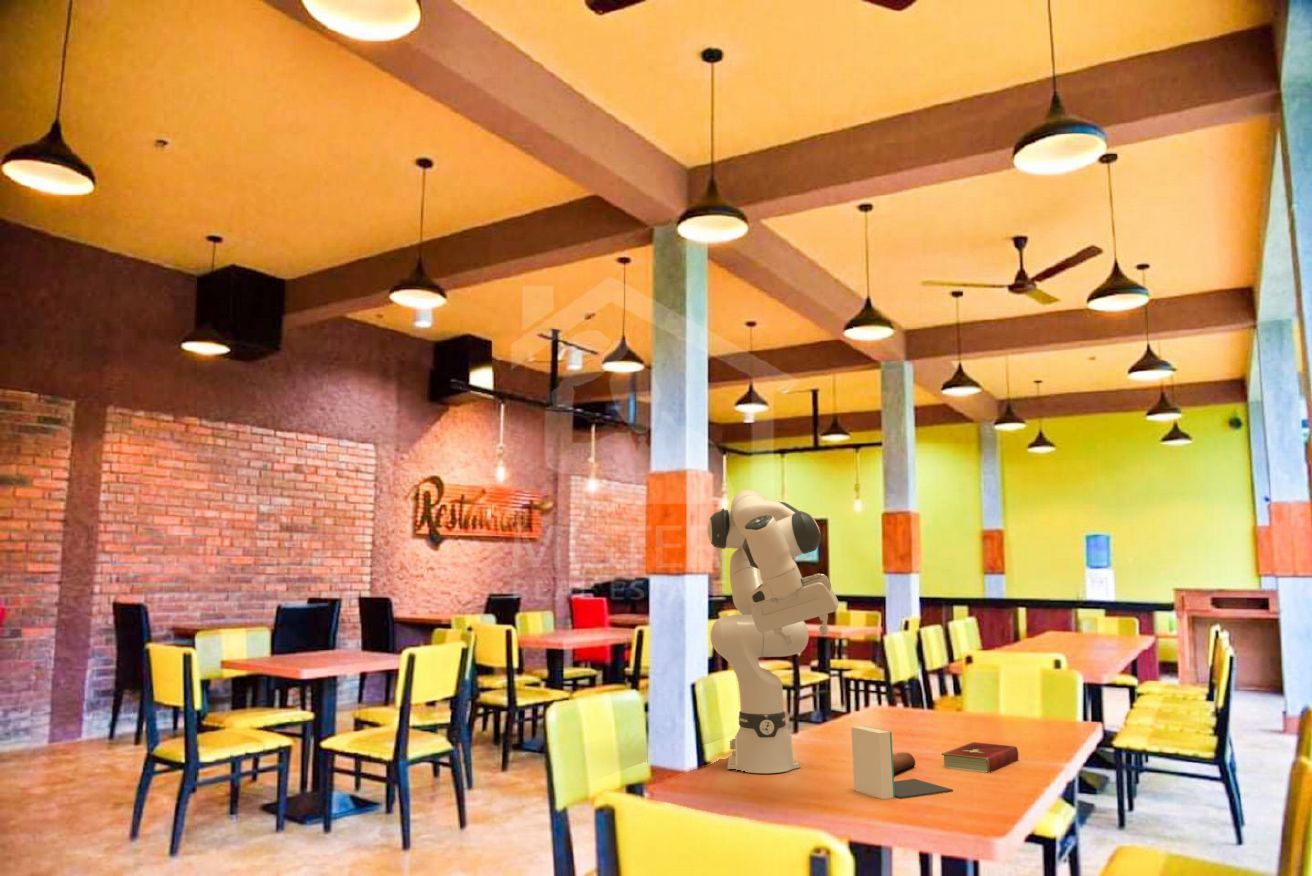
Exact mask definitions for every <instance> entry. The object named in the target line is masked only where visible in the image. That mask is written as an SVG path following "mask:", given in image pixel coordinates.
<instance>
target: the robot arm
mask: <svg viewBox="0 0 1312 876" xmlns="http://www.w3.org/2000/svg"><path fill="white" fill-rule="evenodd" d="M706 532H707V536H708V539H709V542H710V544H711V545H712V546H713V547H714V548H716V549H722V550H725V549H735V551H733V553H732V555H731V557H730V560H729V582H730V588H731V594H732V602H733V604H734V607H735V609H736V610H737V611H738V612H739V613H740V614H732V615H728V616H723V617H719V618H717V619H716V620H715V622H713V625H712V626H711V631H710V642H711V645H712V647H713V650H715V651H716V653H717V654H718V655H720V656H721V657H722V658H723V659H725V660H726V661H727V662H728V664H729V665H730V667H732V669H733V671H734V673H735V675H736V679H737V681H738V683H737V684H738V689H739V699H740V701H739V703H740V711H738V712H739V713H738V725H739V728H738V731H737V733H736V735H734V738H731V740H730V741H729V749H730V750H732V755H731V754H730V755H729V756H728V761H727V767H726V768H727V770H728V769H736V770H735V771H737V770H741V771H740V772H743V771H745V772H744V773H749V774H750V773H751V774H776V773H777V774H778V773H784V772H789V771H791V770H794V769H798V768H801V763H800V762H797V761H796V760H794V759H795V758H794V749H793V748H794V747H793V737H792V734H791V733H790V731H788V730H787V729H786V725H787V724H786V723H787V722H786V720H787V717H786V712H785V710H784V698H783V697H784V691H783V690H784V689H783V683H782V681H781V678H779V676H778V675H776V674H775V673H772V671H769V670H767V669H765V668H763V667H762V666H761V665H760V663H759V658H771V657H773V658H774V657H775V658H776V657H778V658H779V657H780V658H781V657H789V656H793V655H797V654H801V653H803V652H804V650H805V649H806V647H807V646H808V643H809V638H810V633H809V629H808V626H807V624H806V622H805V621H809V620H811V619H814V618H818V617H819V620H820V621H822V625H820V626H819V628H818V629H819V630H818V631H819V632H820V634H821V636H825V635H828V634H829V633H830V630H829V627H828V625H827V624H828V620H829V619H828V618H829V615H828V614H831V613H835V612H836V611H837V609H838V607H839V605H840V602H839V600H838V598H837V595H836V594H835V592H834V590H833V589H832V583H831V581H830V579H829V577H828V576H827V575H826V574H823V573H820V572H819V573H814V574H812V575H808V576H805V577H802V574H801V572H800V569H799V567H798V564H797V562H795V560H794V558H796V557H799V556H801V555H806V554H809V553H813V552H815V551H817V549H818V548H819V547H818V546H820V543H821V541H822V536H821V531H820V527H819V525H818V524H817V521H816V520H815V519H814V518H813V517H812V516H811V515H810V514H809V513H807V512H805V511H802V510H798V509H797V508H796V507H793V506H792V505H790V504H789V503H787V502H786V501H775V500H769V499H767V498H766V497H765V496H764V495H763V494H762V493H760V492H758V491H757V490H754V489H753V490H752V489H744V490H741V491H739V492H738V493H737V494H736V495H734V497H733V499H732V502H731V505H730V509H725V508H722V509H721V510H720V511H717V512H715V513H713V514H712V515H711V516H710V517H709V520H708V523H707V531H706Z"/></svg>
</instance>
